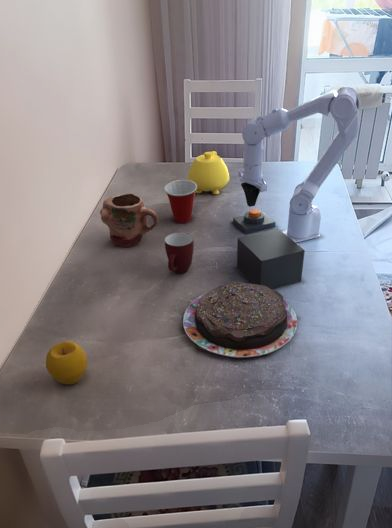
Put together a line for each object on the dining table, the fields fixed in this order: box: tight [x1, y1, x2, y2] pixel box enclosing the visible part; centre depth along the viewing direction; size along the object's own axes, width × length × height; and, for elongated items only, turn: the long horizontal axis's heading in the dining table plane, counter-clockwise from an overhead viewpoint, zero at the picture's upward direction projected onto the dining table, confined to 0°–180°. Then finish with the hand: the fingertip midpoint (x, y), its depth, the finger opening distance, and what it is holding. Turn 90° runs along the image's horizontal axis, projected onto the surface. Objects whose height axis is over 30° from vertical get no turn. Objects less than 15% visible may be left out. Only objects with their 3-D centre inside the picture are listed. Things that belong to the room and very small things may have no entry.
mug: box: [164, 232, 195, 274], centre depth 135 cm, size 10×8×10 cm
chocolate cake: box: [182, 281, 298, 359], centre depth 116 cm, size 28×28×7 cm
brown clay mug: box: [99, 193, 159, 248], centre depth 149 cm, size 20×12×14 cm, turn 73°
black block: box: [236, 228, 306, 290], centre depth 132 cm, size 14×13×10 cm
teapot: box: [187, 150, 230, 195], centre depth 182 cm, size 20×16×14 cm
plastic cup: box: [163, 179, 197, 224], centre depth 161 cm, size 11×11×12 cm
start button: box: [248, 208, 261, 218], centre depth 157 cm, size 4×4×2 cm
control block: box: [232, 210, 277, 234], centre depth 159 cm, size 11×9×4 cm
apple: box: [45, 340, 88, 386], centre depth 102 cm, size 9×8×9 cm
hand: (251, 205), depth 152 cm, fingers closed
